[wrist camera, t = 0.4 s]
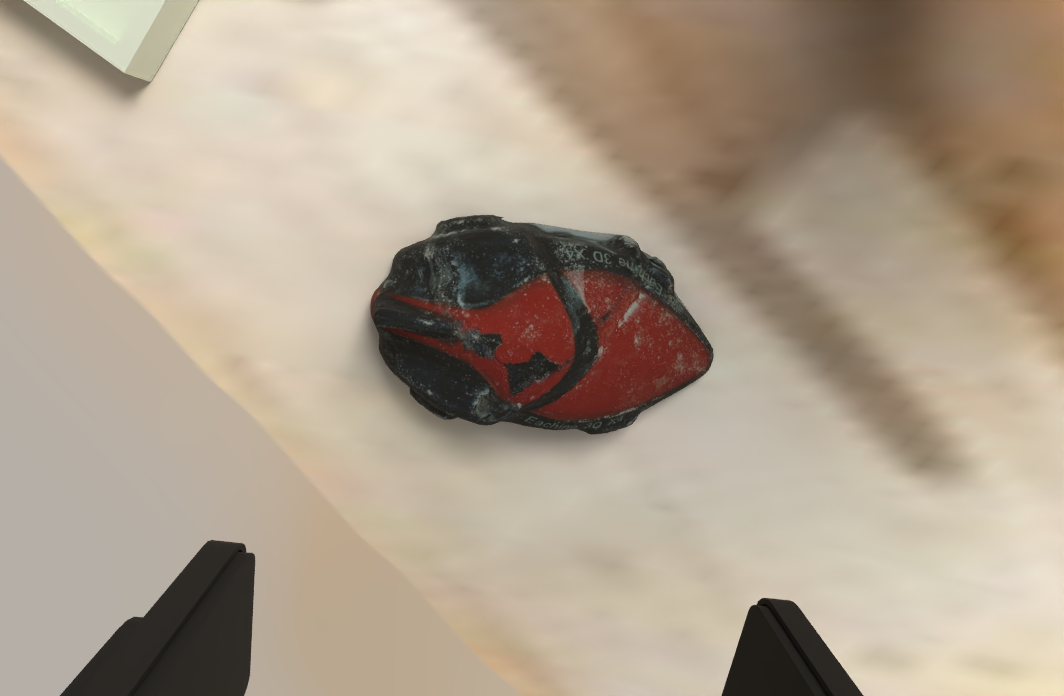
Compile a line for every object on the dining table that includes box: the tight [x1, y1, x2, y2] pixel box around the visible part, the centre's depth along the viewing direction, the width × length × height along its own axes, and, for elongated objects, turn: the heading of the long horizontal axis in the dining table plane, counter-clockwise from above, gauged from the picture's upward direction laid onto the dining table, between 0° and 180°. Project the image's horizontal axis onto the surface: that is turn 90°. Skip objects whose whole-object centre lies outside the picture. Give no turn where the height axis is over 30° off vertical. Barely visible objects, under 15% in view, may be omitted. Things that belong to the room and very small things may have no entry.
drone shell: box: [371, 215, 713, 434], centre depth 37 cm, size 21×20×8 cm
